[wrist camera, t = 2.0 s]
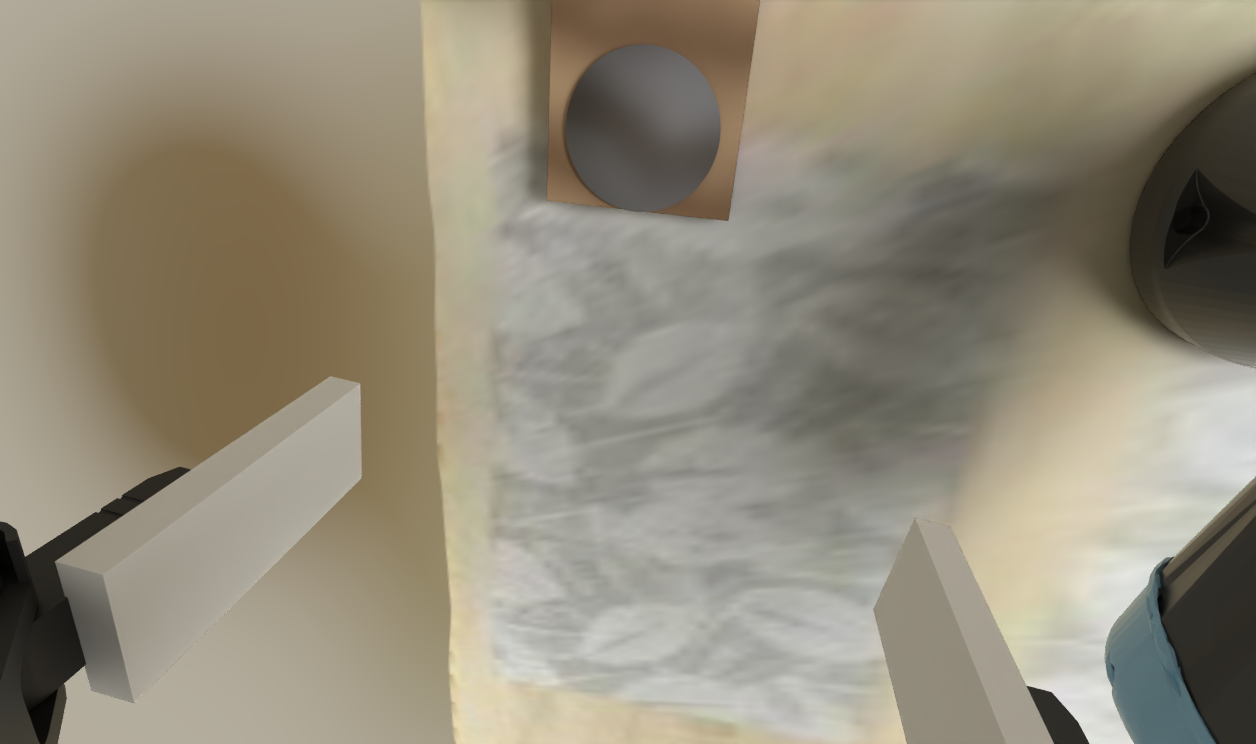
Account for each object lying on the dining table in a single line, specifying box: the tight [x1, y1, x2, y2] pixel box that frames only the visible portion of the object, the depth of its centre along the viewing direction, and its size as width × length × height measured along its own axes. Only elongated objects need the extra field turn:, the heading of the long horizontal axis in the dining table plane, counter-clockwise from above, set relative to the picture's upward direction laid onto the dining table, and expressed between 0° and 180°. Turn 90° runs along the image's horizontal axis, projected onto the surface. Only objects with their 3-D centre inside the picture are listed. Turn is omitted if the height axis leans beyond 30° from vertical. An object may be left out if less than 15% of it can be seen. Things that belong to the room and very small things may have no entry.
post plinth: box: [547, 0, 760, 221], centre depth 28 cm, size 18×10×10 cm, turn 175°
